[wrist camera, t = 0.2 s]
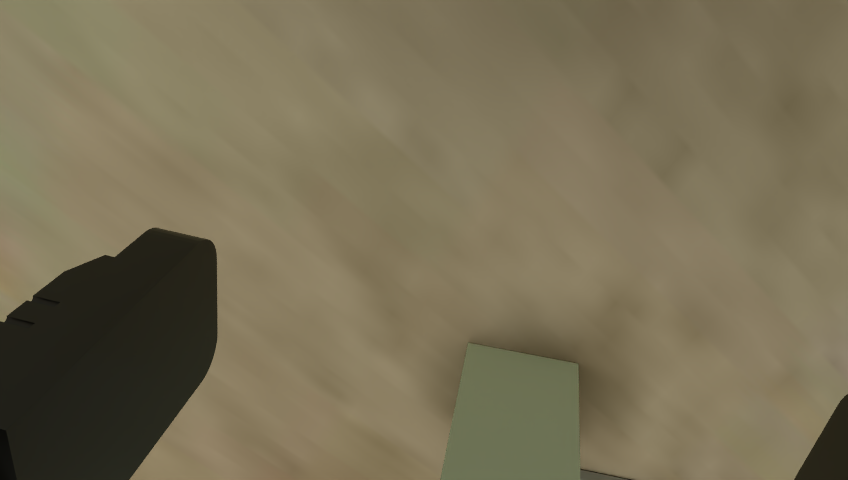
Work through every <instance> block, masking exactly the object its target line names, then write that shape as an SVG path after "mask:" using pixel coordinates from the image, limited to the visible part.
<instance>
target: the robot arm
mask: <svg viewBox="0 0 848 480" xmlns="http://www.w3.org/2000/svg"><path fill="white" fill-rule="evenodd" d="M216 343H217V255H216V249H215V246H214V244H213V242H211V241H210V240H207V239H203V238H199V237H194V236H190V235H186V234H181V233H177V232H173V231H168V230H164V229H160V228H152V229H149V230H148V231H146V232H145V233H143V234H142V235H141V236H140V237H139V238H137V239H136V240H135V241H134V242H133V243H131V244H130V245H129V246H128V247H127V248H125V249H124V250H123V251H122V252H120V253H119V254H118V255H117V256H116V257H111V256H107V255H104V256H102V257H99V258H97V259H94V260H92V261H89V262H87V263H84V264H82V265H79V266H77V267H75V268H72V269H70V270H67V271H65V272H63V273H62V274H61V275H59V276H58V277H57V278H55V279H54V280H53V281H52V282H50V283H49V284H48V285H46V286H45V287H44V288H42V289H41V290H40V291H39V292H37V293H36V294H35V295H33V299H32V301H26V302H24V303H23V304H22V305H20V306H19V307H18V308H17V309H15V310H14V311H13V312H11V313H10V314H9V315H8V316H7V319H6V321H5V322H0V480H129V479H130V478H131V477H132V475H133V474H134V473H135V471H136V470H137V468H138V467H139V466H140V464H141V463H142V462H143V460H144V459H145V458H146V456H147V455H148V454H149V452H150V451H151V450H152V448H153V447H154V445H155V444H156V443H157V441H158V440H159V439H160V437H161V436H162V435H163V433H164V432H165V431H166V429H167V428H168V427H169V425H170V424H171V422H172V421H173V420H174V418H175V417H176V416H177V414H178V413H179V412H180V410H181V409H182V408H183V406H184V405H185V404H186V402H187V401H188V399H189V398H190V397H191V395H192V394H193V393H194V391H195V390H196V389H197V387H198V386H199V385H200V383H201V382H202V380H203V379H204V377H205V375H206V374H207V372H208V369H209V367H210V365H211V362H212V359H213V356H214V352H215V348H216ZM794 480H848V394H847V395H846V396H845V397H844V398H843V399H842V400H841V401H840V403H839V404H838V406H837V407H836V409H835V411H834V413H833V414H832V416H831V418H830V419H829V421H828V423H827V424H826V426H825V428H824V430H823V431H822V433H821V435H820V436H819V438H818V440H817V441H816V443H815V445H814V447H813V448H812V450H811V452H810V453H809V455H808V457H807V458H806V460H805V462H804V464H803V465H802V467H801V469H800V470H799V472H798V474H797V475H796V477H795V479H794Z"/></svg>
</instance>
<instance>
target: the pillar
mask: <svg viewBox="0 0 848 480" xmlns="http://www.w3.org/2000/svg"><path fill="white" fill-rule="evenodd" d="M440 480H580V430H579V372H578V364H577V363H572V362H567V361H562V360H556V359H551V358H546V357H541V356H536V355H530V354H525V353H520V352H515V351H509V350H504V349H499V348H494V347H489V346H483V345H478V344H473V343H468V345H467V350H466V355H465V360H464V365H463V370H462V375H461V380H460V385H459V390H458V395H457V400H456V405H455V410H454V415H453V420H452V425H451V429H450V434H449V439H448V444H447V449H446V454H445V459H444V464H443V469H442V474H441V479H440Z"/></svg>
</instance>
